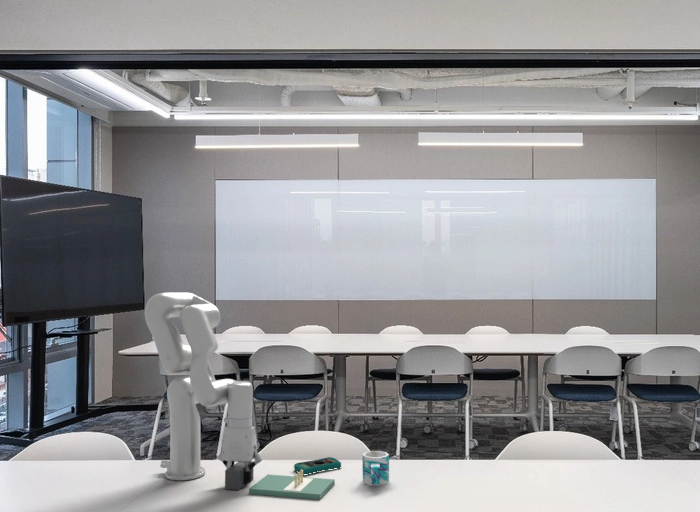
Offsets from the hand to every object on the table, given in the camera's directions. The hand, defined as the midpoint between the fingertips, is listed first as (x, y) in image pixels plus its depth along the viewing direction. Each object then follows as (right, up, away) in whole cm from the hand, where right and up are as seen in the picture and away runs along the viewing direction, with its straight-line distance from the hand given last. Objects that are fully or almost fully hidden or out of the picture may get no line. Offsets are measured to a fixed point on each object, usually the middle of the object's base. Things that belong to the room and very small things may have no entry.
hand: (239, 482), depth 189 cm
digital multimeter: (+23, -2, +15) cm, 28 cm away
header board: (+17, 0, -5) cm, 17 cm away
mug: (+42, 0, 0) cm, 42 cm away
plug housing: (0, -1, +1) cm, 2 cm away
